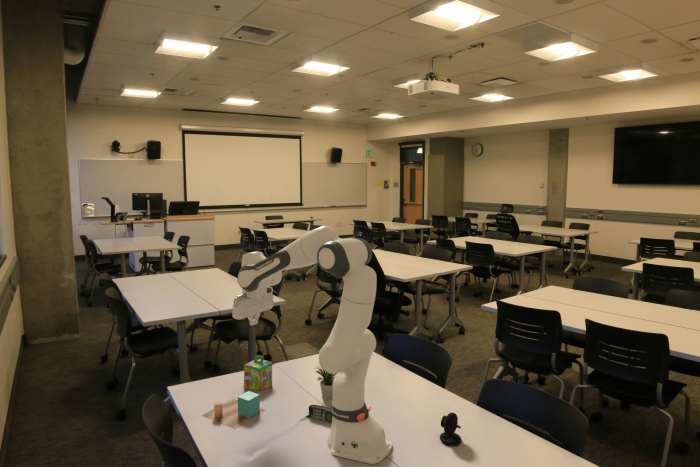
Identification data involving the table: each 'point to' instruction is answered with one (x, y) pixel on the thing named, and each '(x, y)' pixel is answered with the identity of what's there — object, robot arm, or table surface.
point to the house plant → (326, 383)
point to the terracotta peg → (218, 410)
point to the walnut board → (230, 415)
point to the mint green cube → (248, 404)
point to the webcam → (450, 429)
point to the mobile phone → (320, 413)
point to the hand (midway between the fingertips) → (253, 324)
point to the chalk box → (258, 374)
